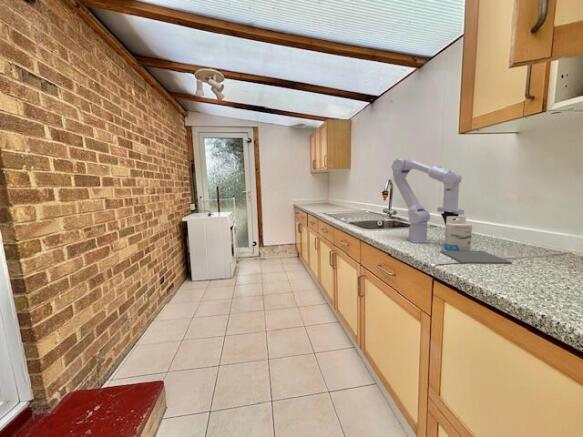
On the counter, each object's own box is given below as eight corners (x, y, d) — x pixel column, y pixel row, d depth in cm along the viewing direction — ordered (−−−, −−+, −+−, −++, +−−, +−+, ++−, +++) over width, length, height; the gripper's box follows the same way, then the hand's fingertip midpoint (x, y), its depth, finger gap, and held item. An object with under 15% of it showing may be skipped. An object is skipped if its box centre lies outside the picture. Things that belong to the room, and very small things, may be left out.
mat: (439, 251, 108) (439, 250, 108) (481, 252, 106) (481, 250, 106) (461, 263, 92) (462, 261, 92) (511, 263, 90) (512, 262, 90)
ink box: (449, 251, 108) (451, 217, 106) (443, 248, 113) (445, 216, 111) (470, 251, 107) (473, 217, 105) (464, 249, 112) (466, 216, 110)
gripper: (432, 198, 121) (430, 226, 123) (454, 200, 107) (452, 231, 109) (445, 198, 122) (444, 225, 124) (469, 199, 108) (467, 230, 109)
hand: (448, 228), depth 116 cm, fingers closed
